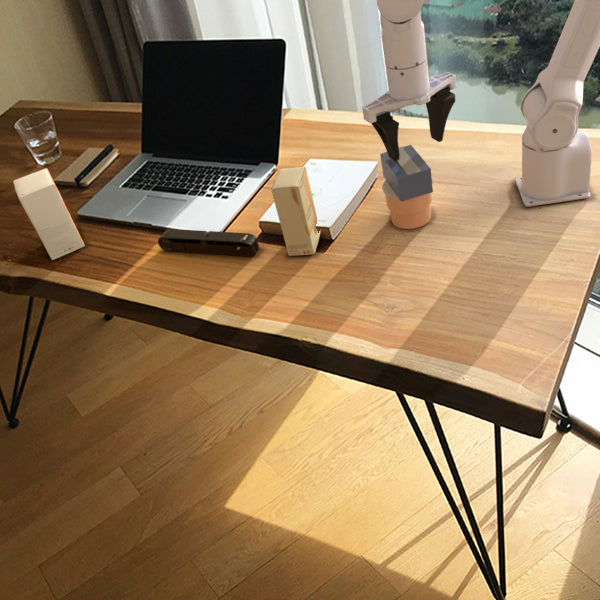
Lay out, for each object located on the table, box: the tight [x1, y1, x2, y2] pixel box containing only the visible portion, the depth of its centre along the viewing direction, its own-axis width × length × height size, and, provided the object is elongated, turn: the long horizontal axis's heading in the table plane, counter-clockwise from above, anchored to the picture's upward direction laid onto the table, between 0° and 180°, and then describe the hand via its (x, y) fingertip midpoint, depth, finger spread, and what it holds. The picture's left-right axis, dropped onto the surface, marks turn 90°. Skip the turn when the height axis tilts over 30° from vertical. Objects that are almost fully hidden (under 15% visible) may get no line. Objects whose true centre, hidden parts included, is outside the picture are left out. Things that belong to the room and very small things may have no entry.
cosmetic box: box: [270, 166, 321, 257], centre depth 104 cm, size 6×4×12 cm
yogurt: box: [381, 180, 433, 230], centre depth 105 cm, size 8×8×6 cm
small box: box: [13, 167, 86, 261], centre depth 119 cm, size 8×6×13 cm
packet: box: [379, 144, 434, 202], centre depth 102 cm, size 8×5×4 cm, turn 12°
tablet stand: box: [157, 228, 260, 257], centre depth 111 cm, size 18×3×3 cm, turn 68°
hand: (415, 148), depth 102 cm, fingers open, 7 cm apart
